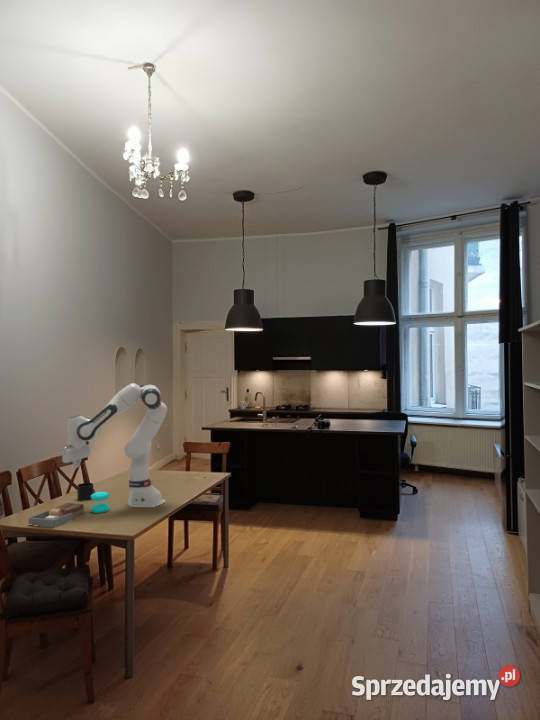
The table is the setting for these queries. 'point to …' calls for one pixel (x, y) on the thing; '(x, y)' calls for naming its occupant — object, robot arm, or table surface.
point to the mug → (85, 491)
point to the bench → (71, 509)
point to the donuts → (101, 507)
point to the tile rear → (57, 512)
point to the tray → (49, 520)
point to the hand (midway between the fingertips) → (77, 467)
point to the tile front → (52, 517)
